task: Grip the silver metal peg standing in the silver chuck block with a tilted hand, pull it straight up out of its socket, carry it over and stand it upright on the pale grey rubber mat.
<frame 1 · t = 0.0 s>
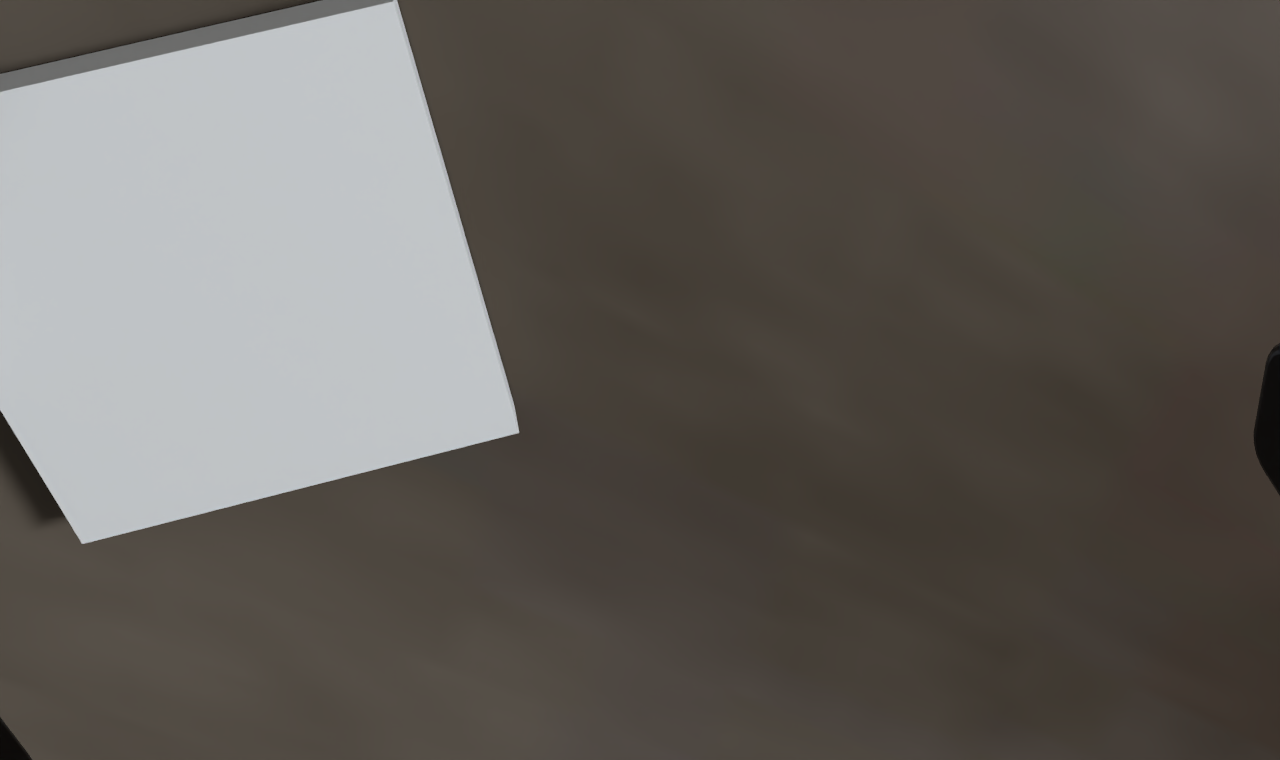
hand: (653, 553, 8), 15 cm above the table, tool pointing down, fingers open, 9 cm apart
rubber mat: (226, 275, 22), on the table
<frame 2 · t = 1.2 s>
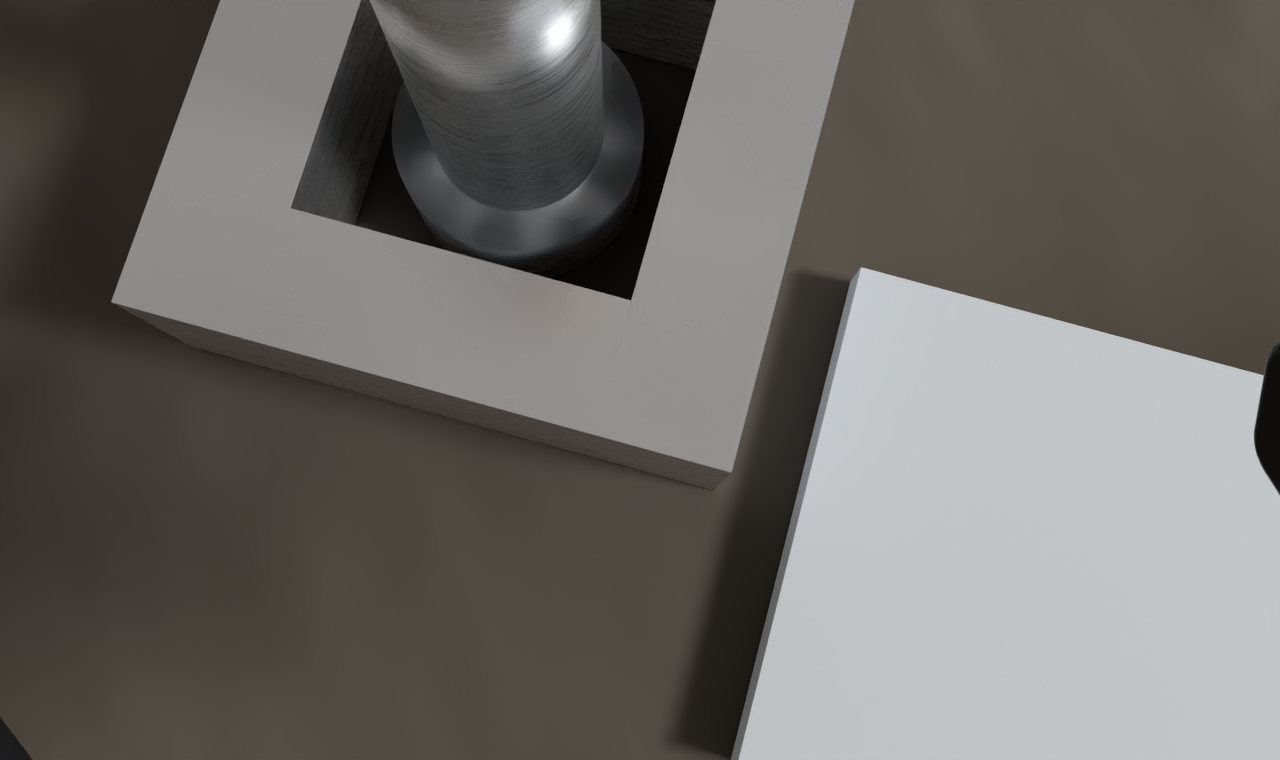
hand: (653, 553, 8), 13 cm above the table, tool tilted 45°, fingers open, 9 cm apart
silver metal peg: (526, 168, 23), resting in chuck block
chuck block: (526, 167, 23), on the table
rubber mat: (1032, 578, 21), on the table
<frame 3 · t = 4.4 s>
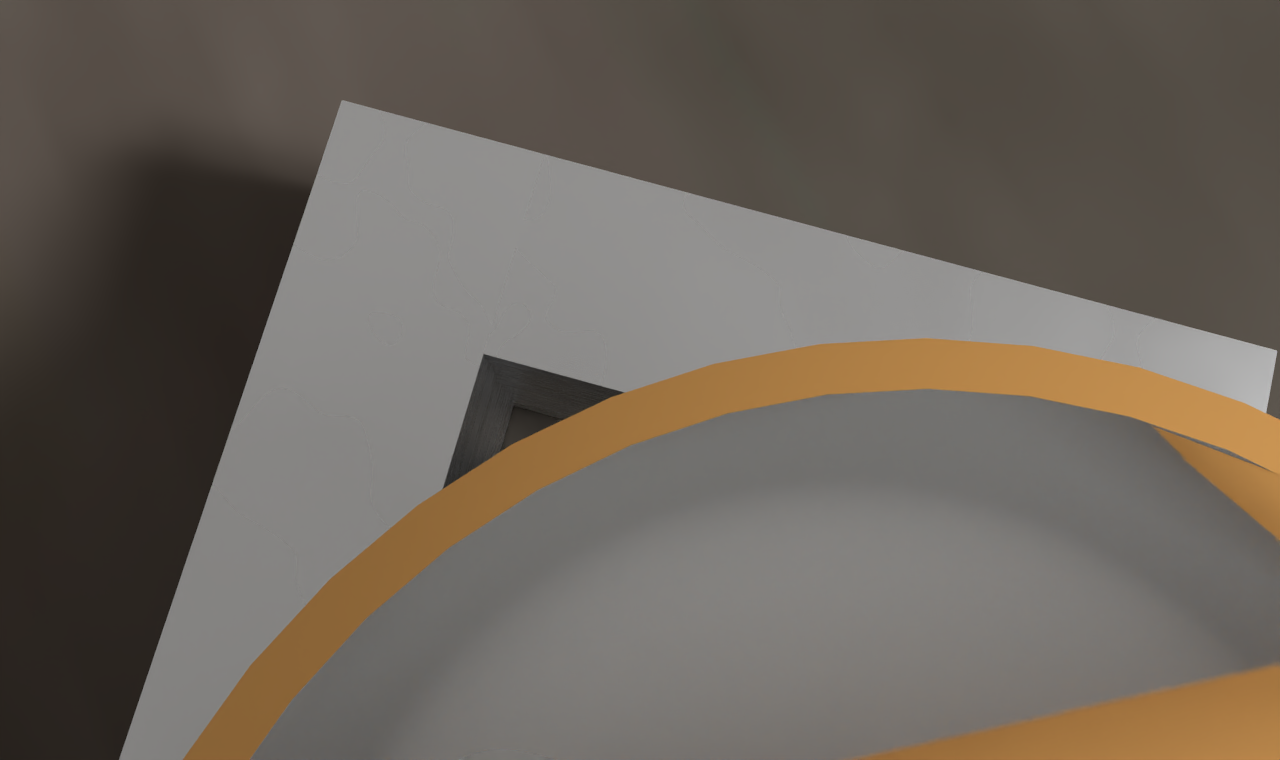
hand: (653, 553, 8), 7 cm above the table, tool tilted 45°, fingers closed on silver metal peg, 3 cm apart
silver metal peg: (664, 677, 15), resting in chuck block, touching gripper
chuck block: (665, 677, 15), on the table
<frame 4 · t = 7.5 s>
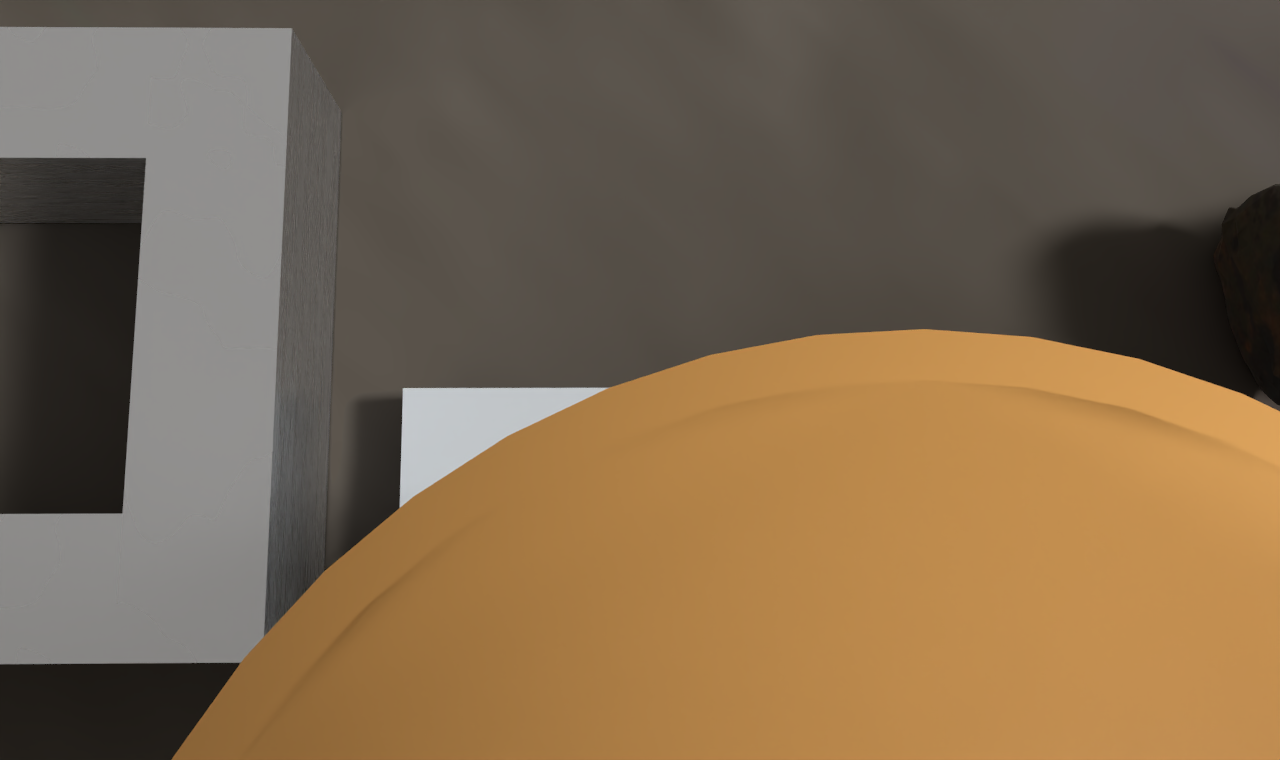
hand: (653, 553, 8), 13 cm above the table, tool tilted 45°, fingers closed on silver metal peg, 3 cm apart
silver metal peg: (664, 675, 15), point 6 cm above the table, touching gripper
chuck block: (57, 370, 22), on the table
rubber mat: (659, 646, 21), on the table
when the fingers open (9 cm above the table, at t = 9.2 s): silver metal peg stays where it is, resting on rubber mat.
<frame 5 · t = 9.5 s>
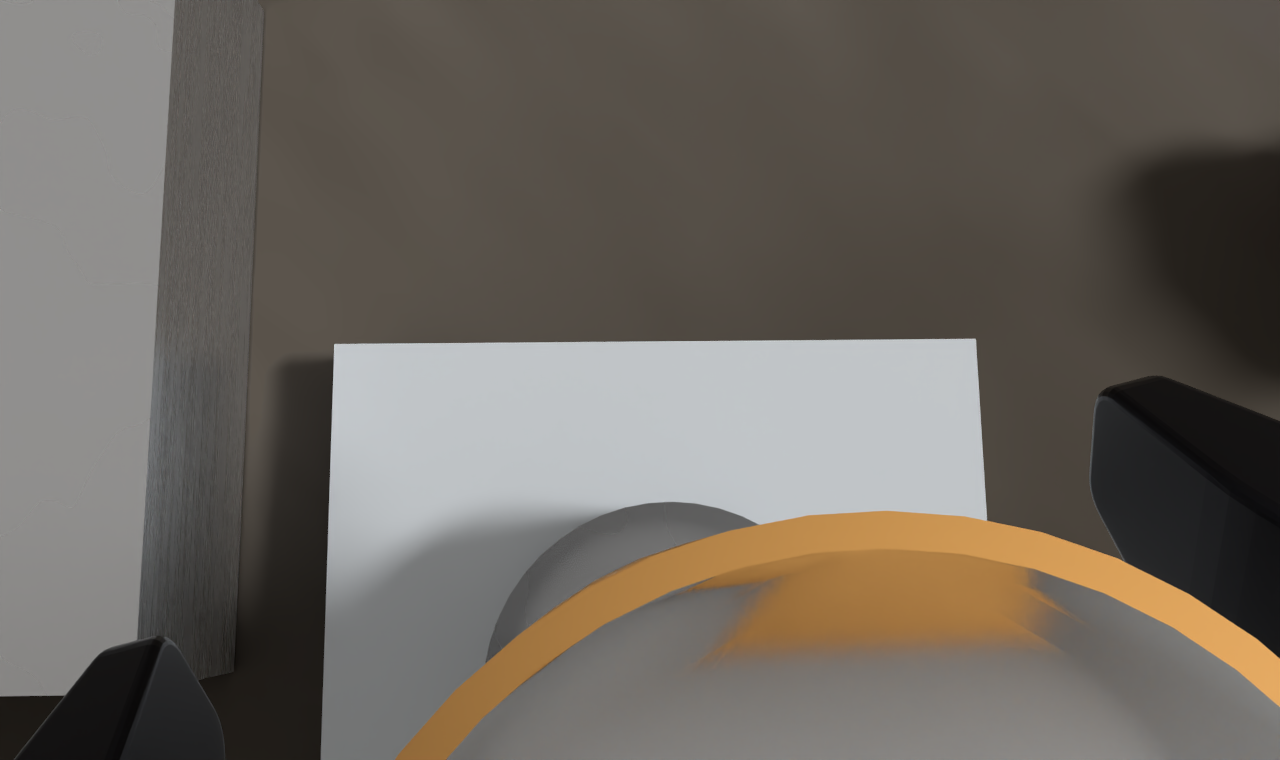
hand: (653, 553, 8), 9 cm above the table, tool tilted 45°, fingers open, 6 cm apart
silver metal peg: (663, 675, 16), point 1 cm above the table, touching rubber mat
rubber mat: (659, 666, 17), on the table
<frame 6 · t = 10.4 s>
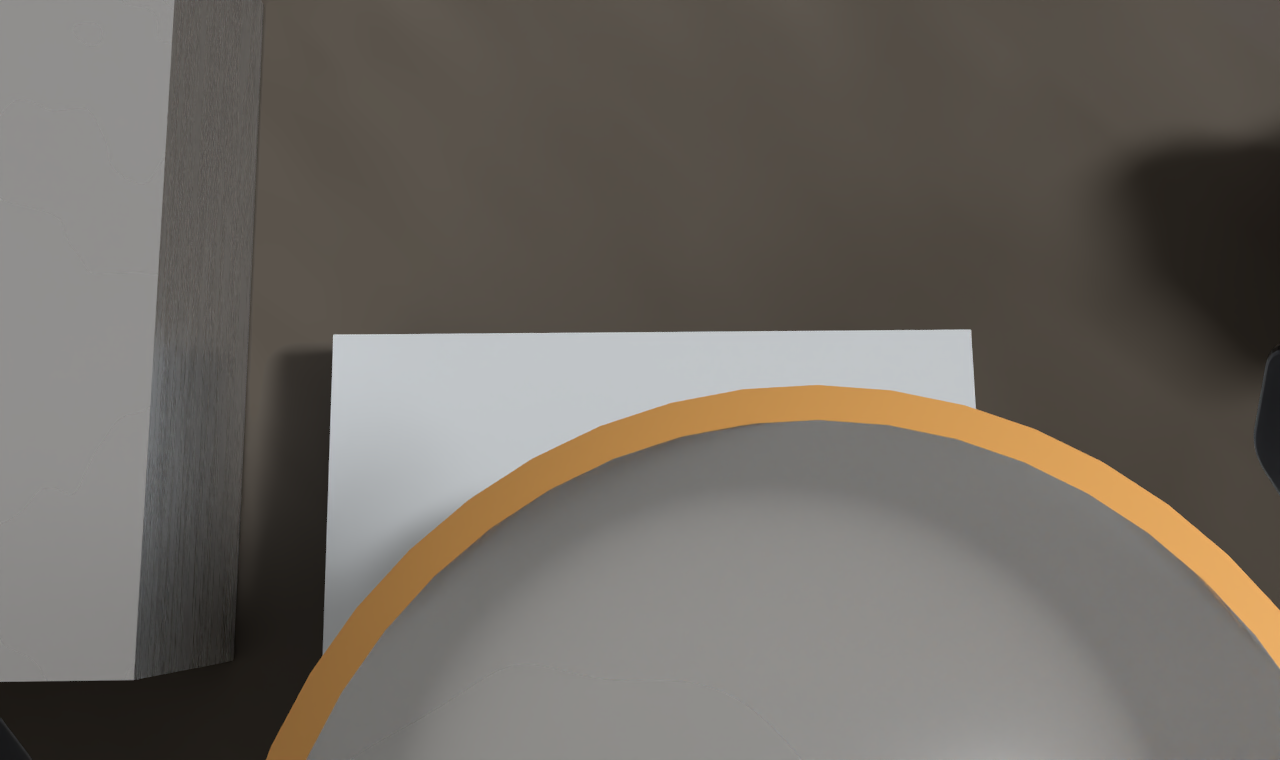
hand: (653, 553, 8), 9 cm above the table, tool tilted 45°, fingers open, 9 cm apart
silver metal peg: (660, 663, 16), point 1 cm above the table, touching rubber mat
rubber mat: (656, 655, 17), on the table
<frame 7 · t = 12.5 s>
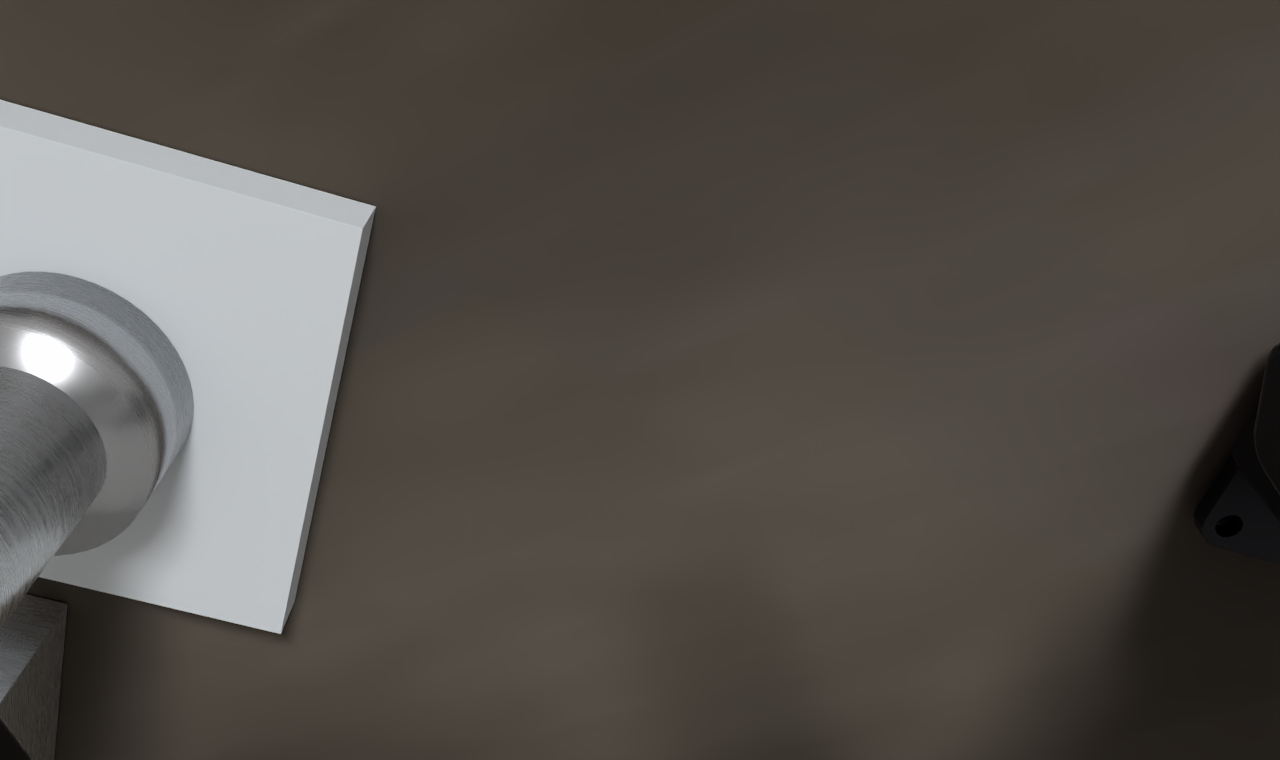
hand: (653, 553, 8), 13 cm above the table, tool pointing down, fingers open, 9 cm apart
silver metal peg: (67, 385, 21), point 1 cm above the table, touching rubber mat
rubber mat: (89, 359, 22), on the table
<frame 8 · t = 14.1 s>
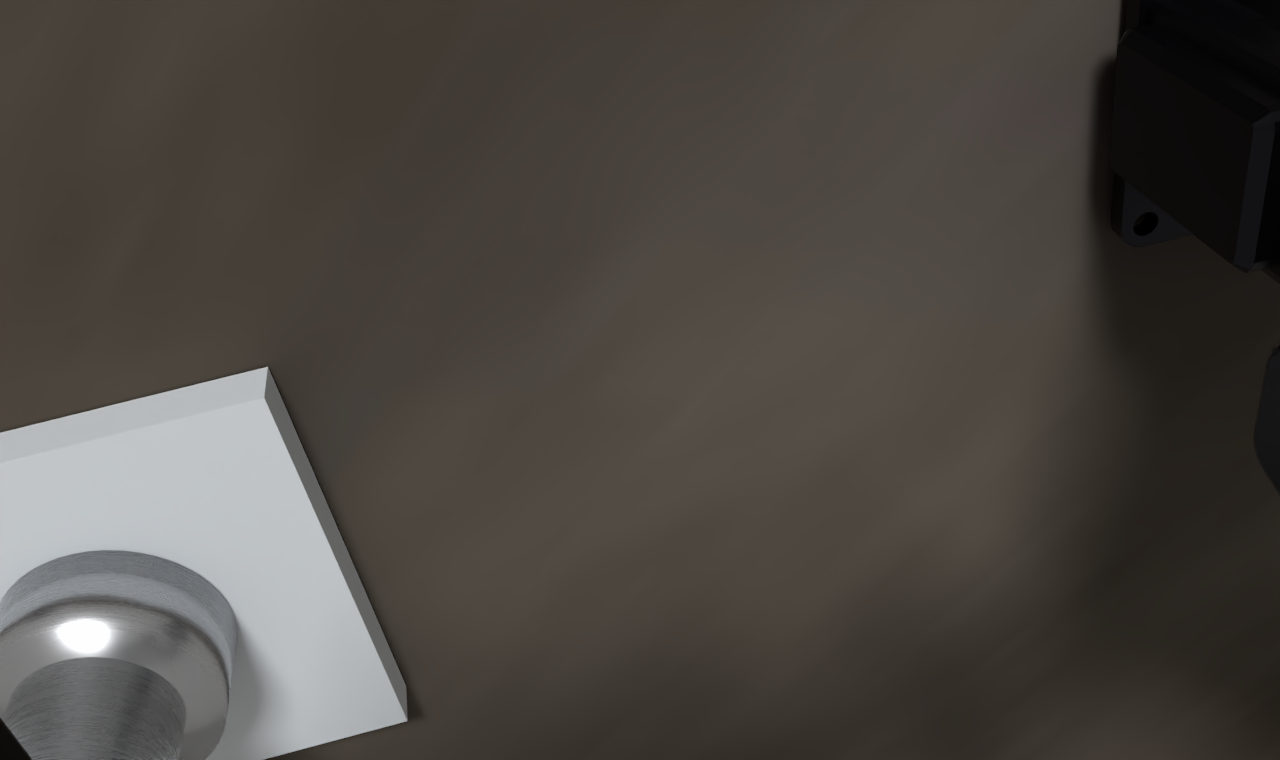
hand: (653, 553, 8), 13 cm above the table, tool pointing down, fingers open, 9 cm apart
silver metal peg: (118, 635, 23), point 1 cm above the table, touching rubber mat
rubber mat: (125, 600, 24), on the table
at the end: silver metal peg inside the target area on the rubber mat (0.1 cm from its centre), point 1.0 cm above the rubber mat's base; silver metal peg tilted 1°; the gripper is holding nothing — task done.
